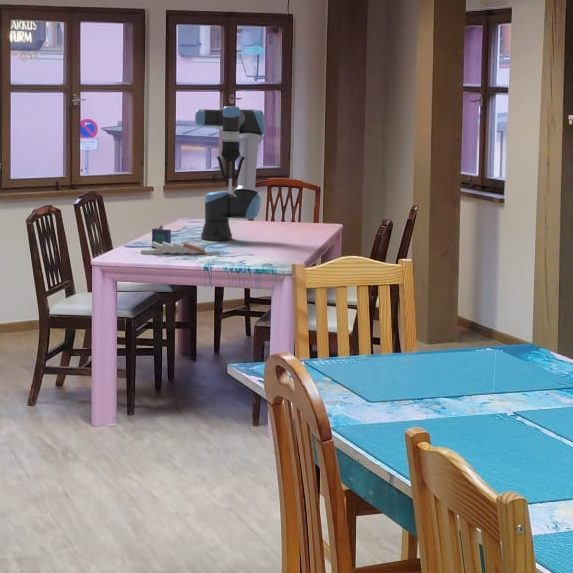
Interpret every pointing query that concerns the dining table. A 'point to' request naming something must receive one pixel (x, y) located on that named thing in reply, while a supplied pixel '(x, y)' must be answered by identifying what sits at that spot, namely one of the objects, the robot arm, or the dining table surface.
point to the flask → (161, 235)
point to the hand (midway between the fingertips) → (230, 192)
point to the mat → (191, 253)
